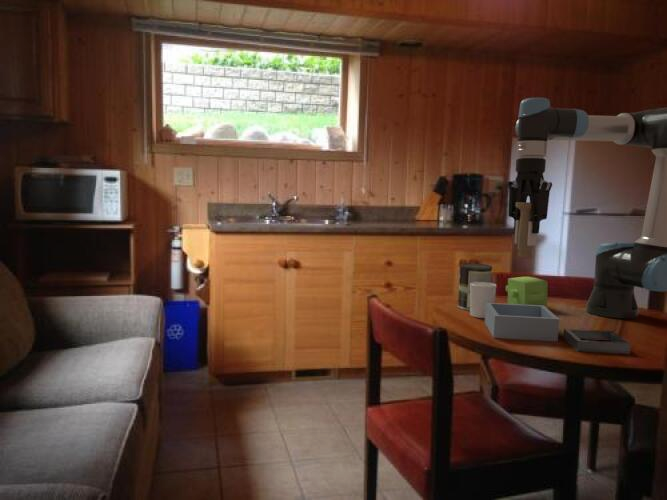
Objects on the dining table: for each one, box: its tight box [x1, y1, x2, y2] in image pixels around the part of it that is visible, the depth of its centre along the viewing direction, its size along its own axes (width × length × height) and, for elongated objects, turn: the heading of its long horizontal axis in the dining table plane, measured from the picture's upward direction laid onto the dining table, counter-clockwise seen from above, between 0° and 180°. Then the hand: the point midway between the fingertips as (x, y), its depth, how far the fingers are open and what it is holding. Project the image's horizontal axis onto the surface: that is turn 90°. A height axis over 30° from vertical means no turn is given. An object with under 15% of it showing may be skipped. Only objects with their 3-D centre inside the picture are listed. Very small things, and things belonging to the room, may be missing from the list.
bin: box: [484, 302, 560, 342], centre depth 157 cm, size 16×16×6 cm
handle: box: [516, 201, 533, 259], centre depth 154 cm, size 5×6×15 cm
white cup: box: [469, 282, 497, 319], centre depth 175 cm, size 8×8×10 cm
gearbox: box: [505, 276, 549, 309], centre depth 191 cm, size 18×10×10 cm, turn 14°
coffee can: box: [457, 262, 493, 312], centre depth 185 cm, size 10×10×14 cm
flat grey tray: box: [562, 328, 632, 355], centre depth 146 cm, size 12×12×2 cm
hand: (525, 244), depth 154 cm, fingers closed on handle, 4 cm apart
